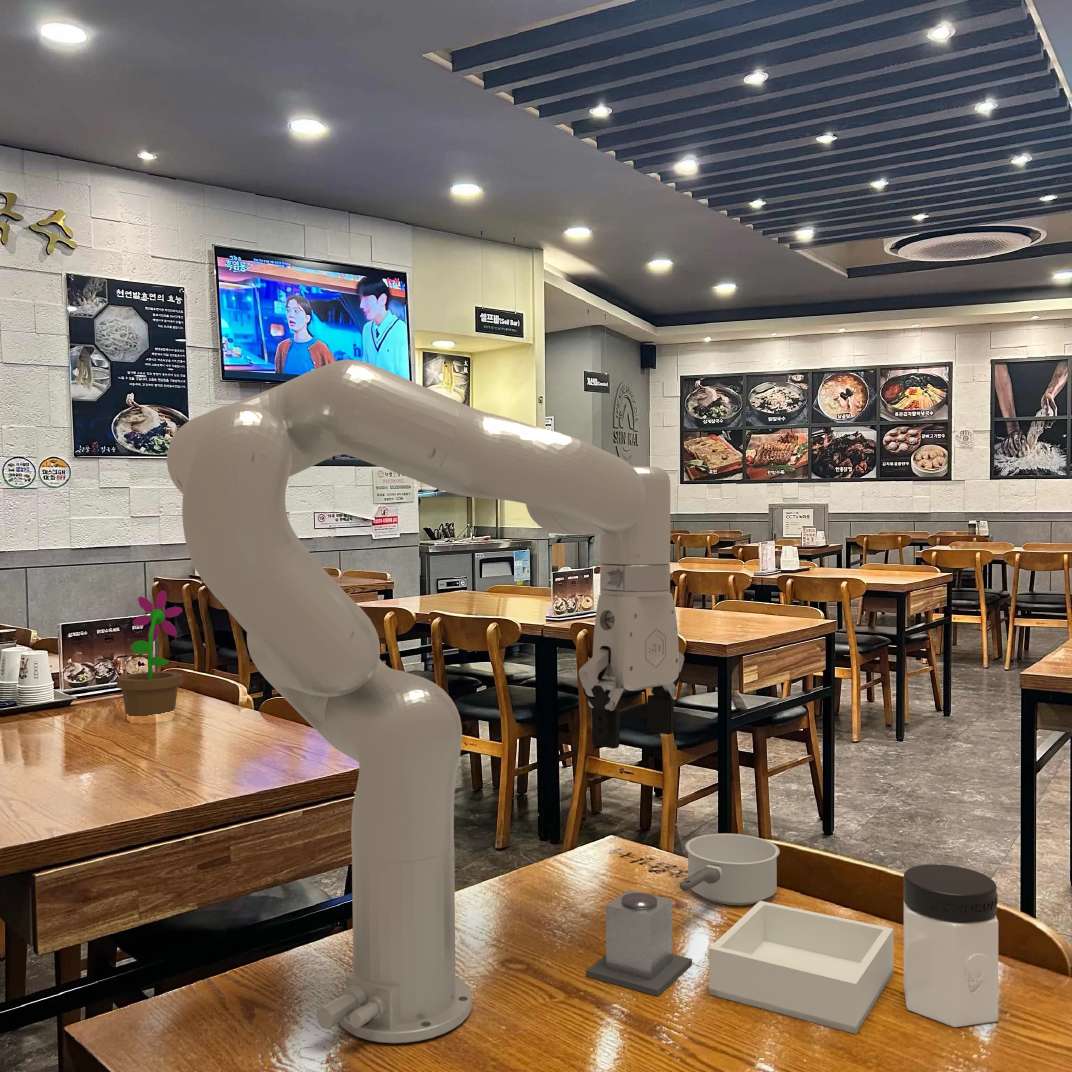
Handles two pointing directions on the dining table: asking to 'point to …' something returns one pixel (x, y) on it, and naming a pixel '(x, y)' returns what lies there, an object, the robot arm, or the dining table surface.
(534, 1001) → the dining table surface
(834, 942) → the bin
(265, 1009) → the dining table surface
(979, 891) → the jar
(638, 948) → the metal block
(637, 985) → the ball stud
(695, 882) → the saucepan
